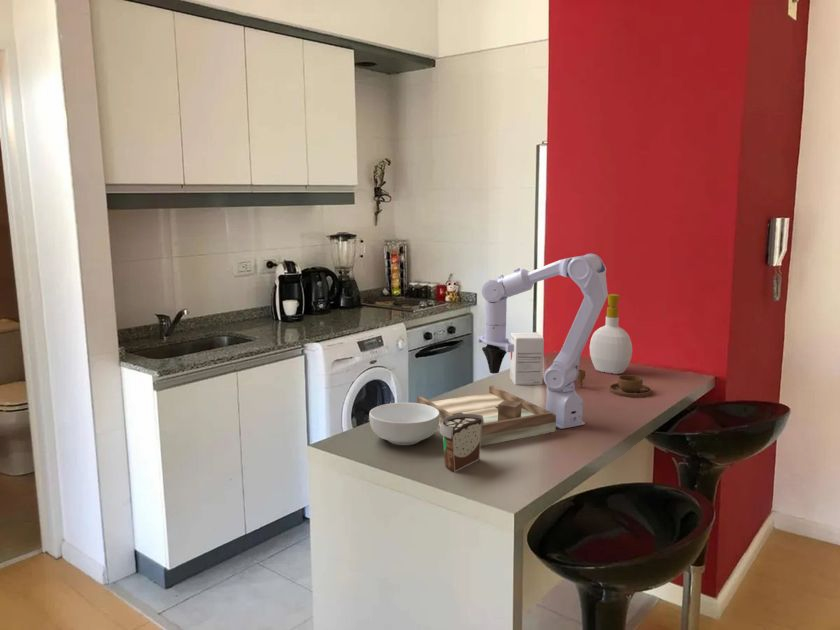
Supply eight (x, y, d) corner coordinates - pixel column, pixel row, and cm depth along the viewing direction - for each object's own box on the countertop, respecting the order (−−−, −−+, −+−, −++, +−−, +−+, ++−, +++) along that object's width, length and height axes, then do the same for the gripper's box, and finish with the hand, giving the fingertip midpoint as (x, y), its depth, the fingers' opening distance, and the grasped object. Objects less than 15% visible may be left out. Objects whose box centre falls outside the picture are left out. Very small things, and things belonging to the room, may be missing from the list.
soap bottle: (635, 372, 230) (640, 294, 225) (625, 377, 223) (630, 298, 218) (595, 365, 238) (598, 290, 234) (584, 370, 231) (587, 293, 227)
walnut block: (520, 419, 174) (521, 402, 173) (515, 424, 170) (515, 407, 169) (504, 416, 176) (504, 399, 175) (497, 421, 172) (498, 404, 171)
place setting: (632, 404, 197) (633, 384, 196) (572, 389, 211) (573, 371, 210) (662, 392, 209) (663, 373, 208) (604, 379, 223) (604, 361, 222)
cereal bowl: (451, 435, 170) (452, 408, 169) (417, 457, 156) (417, 427, 154) (393, 423, 178) (393, 397, 177) (355, 443, 164) (355, 415, 163)
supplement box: (509, 377, 223) (510, 332, 220) (536, 377, 223) (538, 331, 221) (514, 385, 214) (515, 337, 211) (543, 384, 214) (544, 337, 212)
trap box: (555, 431, 172) (556, 412, 172) (472, 447, 162) (473, 427, 161) (492, 400, 198) (492, 383, 197) (417, 412, 187) (417, 394, 186)
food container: (461, 451, 160) (461, 409, 158) (483, 457, 156) (484, 415, 154) (427, 467, 150) (427, 423, 148) (450, 474, 146) (450, 429, 145)
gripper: (523, 326, 181) (522, 377, 184) (492, 318, 194) (491, 365, 196) (501, 329, 178) (500, 380, 180) (471, 320, 191) (470, 368, 193)
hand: (494, 372), depth 188 cm, fingers closed
